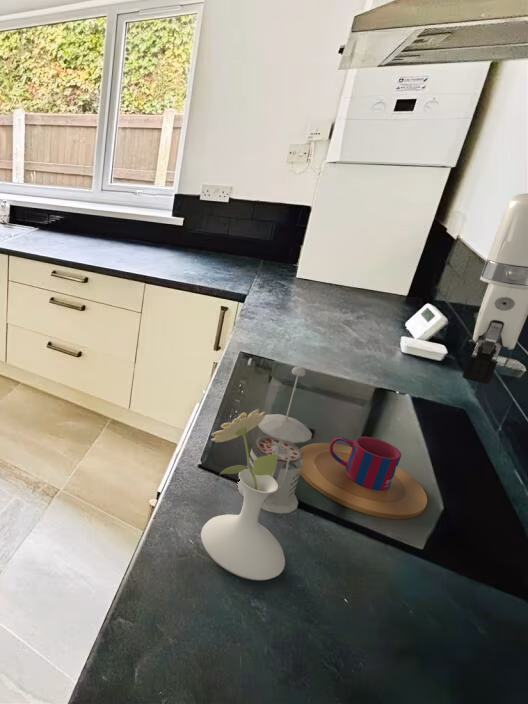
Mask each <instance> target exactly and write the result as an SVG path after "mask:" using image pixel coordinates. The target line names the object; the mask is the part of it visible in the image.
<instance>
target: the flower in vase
mask: <svg viewBox="0 0 528 704" xmlns="http://www.w3.org/2000/svg"><path fill="white" fill-rule="evenodd" d="M259 411H260V409H259V408H257V409H255V410H253V411H251V412H250V413H249V414H247V412H245V411H244V412H242V413H240V414H239V415H238V417H236V418H234V419H232V422H224V423H222V424H221V425H220V427H221V429H220V430H217V431H214V432H212V433H211V434H210V436H212V438H211V439H210V440H211V441H212V442H215V443H224V442H229V441H232V440H233V439H236V438H238V437H240V436H241V437H242V439H243V443H244V448H245V455H246V465H243V464H236V465H232V466H229V467H226V468H225V469H223V470H222V471H220V472H219V475H218V476H220V475H224V474H226V475H236V474H238V480H239V479H240V481H241V483H242V485H243V488H244V497H243V501H242V507H241V509H240V510H241V511H240V513H239V514H230V513H229V514H222V515H221V514H220V515H217V516H213V517H211V518H210V519H208V520H207V522H205V524H203V527H202V529H201V530H200V531H201V532H200V538H201V542H202V545H203V547H204V549H205V551H206V552H207V554H208V555H209V557H210V558H211V559H212V560H213V561H214V562H215V563H216V564H217V565H218V566H220V567H221V568H223V570H225V571H227V572H228V573H230V574H233V575H235V576H237V577H240V578H242V579H245V580H246V579H247V580H251V581H267V580H271V579H273V578H276V577H278V576H280V574H281V573H283V571H284V569H285V566H286V558H285V554H284V550H283V548H282V545H281V544H280V542H279V541H278V540H277V538H276V537H275V535H273V534H272V532H270V531H269V530H268V529H267V528H266V527H265V526H263V525H262V524H261V523H259V516H260V512H261V510H262V509H261V506H262V504H263V502H264V500H265V498H266V497H267V496H268V495H269V494H271V493H274V492H275V491H276V490H277V489H278V483H277V482H276V480H275V479H274V478H273V477H271V476H270V475H269V474H272V473H273V471H274V469H275V466H276V454H272V455H268V456H263V457H260V458H257V459H255V460H254V461H253V462H254V463H253V469H251V467H252V466H251V465H250V461H249V457H250V453H249V452H250V451H249V446H248V441H247V437H246V436H247V435H246V434H247V433H248V432H250V431H252V430H253V429H254V428H256V427H257V426H258V425H259V424H260V422H261V421H262V420H263V418H264V417H265V415H266V412H265V411H262V412H259ZM247 465H248V467H247ZM247 468H249V469H247Z"/></svg>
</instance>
